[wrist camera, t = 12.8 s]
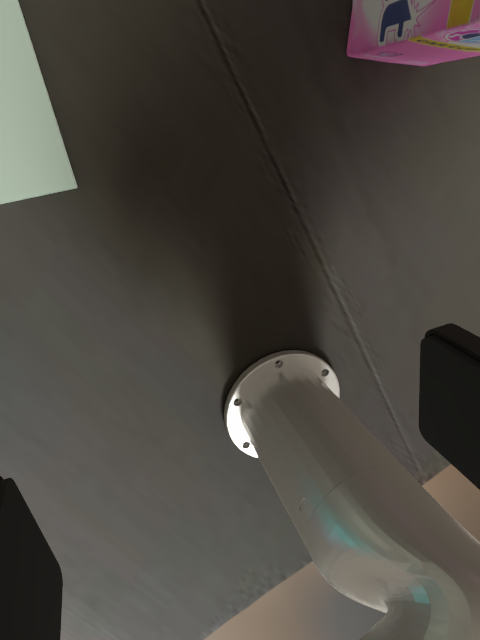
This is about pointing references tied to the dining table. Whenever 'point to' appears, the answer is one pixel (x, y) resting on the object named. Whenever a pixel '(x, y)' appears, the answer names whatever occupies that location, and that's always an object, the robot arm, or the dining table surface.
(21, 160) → the mat
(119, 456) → the dining table surface
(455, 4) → the gum box
